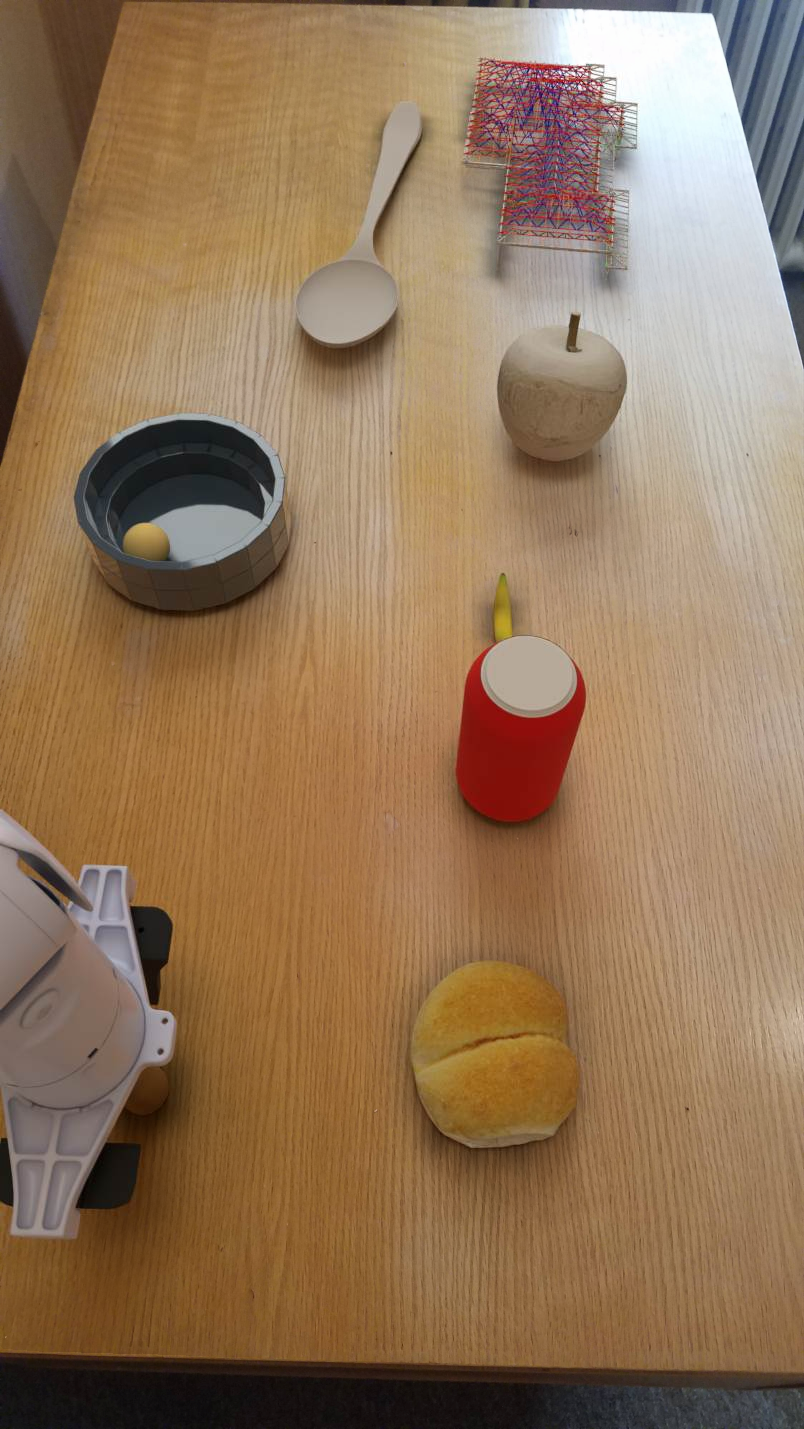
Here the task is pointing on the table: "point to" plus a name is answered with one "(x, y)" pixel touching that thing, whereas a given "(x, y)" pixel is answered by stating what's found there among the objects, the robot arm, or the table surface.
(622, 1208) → the table surface
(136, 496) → the bowl
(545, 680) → the beverage can
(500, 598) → the fruit
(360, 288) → the spoon
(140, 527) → the ball
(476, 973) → the bread roll
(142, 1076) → the brown wooden dowel
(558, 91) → the roof frame
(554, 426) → the decorative object
